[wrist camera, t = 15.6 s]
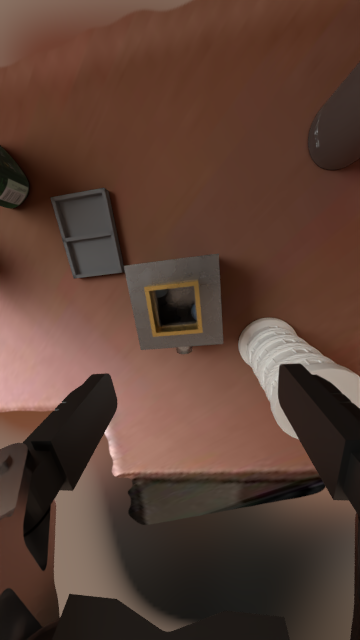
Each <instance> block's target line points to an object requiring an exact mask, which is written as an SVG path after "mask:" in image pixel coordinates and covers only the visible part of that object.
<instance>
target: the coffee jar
mask: <svg viewBox="0 0 360 640" xmlns="http://www.w3.org/2000/svg"><path fill="white" fill-rule="evenodd" d="M28 192H29V182H28V180H27V178H26V176H25V174H24V173H23V171H22V170H21V169H20V167H19V166H18V164H17V163H16V162H15V161H14V160H13V158H12V157H11V156H10V155H9V154H8V153H7V152H6V151H5V150H4V149H3V148H2V147H1V146H0V206H3V207H6V208H15V207H17V206H19V205H20V204H21V203H22V202H23V201H24V200H25V199H26V197H27V195H28Z"/></svg>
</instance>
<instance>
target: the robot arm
mask: <svg viewBox="0 0 360 640" xmlns="http://www.w3.org/2000/svg"><path fill="white" fill-rule="evenodd" d="M308 148H309V152H310V155H311V157H312V159H313V161H314V162H315V163H316V164H317V165H318V166H320V167H321V168H324V169H327V170H336V169H341V168H344V167H346V166H348V165H350V164H351V163H353V162H355V161H356V160H358V159H359V158H360V62H359V63H358V64H357V66H356V67H355V68H354V69H353V70H352V72H351V73H350V74H349V75H348V77H347V78H346V79H345V80H344V81H343V83H342V84H341V85H340V86H339V87H338V89H337V90H336V91H335V92H334V93H333V95H332V96H331V97H330V98H329V99H328V101H327V102H326V103H325V104H324V106H323V107H322V108H321V109H320V111H319V112H318V113H317V115H316V117H315V119H314V120H313V122H312V125H311V128H310V131H309V137H308ZM278 399H279V403H280V406H281V408H282V410H283V412H284V414H285V415H286V417H287V419H288V421H289V422H290V424H291V426H292V428H293V430H294V431H295V433H296V435H297V437H298V438H299V440H300V442H301V444H302V445H303V447H304V449H305V451H306V452H307V454H308V456H309V458H310V459H311V461H312V463H313V465H314V466H315V468H316V470H317V472H318V473H319V475H320V477H321V479H322V481H323V482H324V484H325V486H326V488H327V489H328V491H329V493H330V495H331V496H332V498H333V500H349V501H350V502H351V504H352V506H353V507H354V509H355V510H356V512H357V513H356V517H355V572H354V610H353V619H352V626H351V635H350V640H360V408H358V407H357V406H356V405H355V404H354V403H351V400H350V399H349V398H347V397H346V396H345V395H344V394H342V392H341V391H340V390H339V389H338V388H337V387H335V386H334V385H333V384H332V383H331V382H329V381H328V380H326V379H324V378H322V377H320V376H318V375H317V374H316V375H312V374H311V373H310V372H309V371H308V370H307V369H306V368H305V367H304V366H303V365H302V364H300V363H294V364H281V365H280V366H279V376H278ZM116 409H117V397H116V393H115V390H114V386H113V383H112V379H111V376H110V375H109V374H93V375H91V376H90V377H89V378H88V379H87V380H86V381H85V382H84V383H83V384H82V385H81V386H80V387H78V388H77V389H75V390H74V391H72V392H71V393H70V394H69V395H68V396H67V397H66V398H65V399H64V400H63V401H62V403H60V404H59V405H58V406H57V407H56V408H55V411H53V412H52V413H51V414H50V415H49V416H48V417H47V418H46V419H45V420H44V421H43V422H42V423H41V424H40V426H38V427H37V428H36V429H35V430H34V431H33V433H32V434H31V435H30V436H29V437H28V438H27V439H26V440H25V441H24V442H23V443H16V444H12V445H9V446H7V447H4V448H2V449H0V640H290V639H289V635H288V631H287V627H286V623H285V618H284V617H279V616H269V615H260V614H251V613H241V612H232V611H223V612H221V613H218V614H216V615H213V616H211V617H208V618H205V619H203V620H200V621H198V622H195V623H192V624H190V625H187V626H185V627H182V628H180V629H177V630H174V631H171V632H165V631H162V630H161V629H159V628H158V627H156V626H155V625H153V624H152V623H150V622H149V621H148V620H146V619H145V618H143V617H142V616H140V615H139V614H137V613H136V612H135V611H133V610H131V609H130V608H129V607H127V606H126V605H124V604H123V603H122V602H120V601H119V600H117V599H111V598H102V597H93V596H83V595H73V594H69V597H68V600H67V602H66V605H65V607H64V610H63V613H62V616H61V617H60V618H59V606H58V598H57V593H56V589H55V584H54V550H55V548H54V547H55V523H56V502H55V500H54V498H55V497H56V495H57V494H58V492H59V490H71V491H72V490H73V489H74V488H75V486H76V484H77V482H78V480H79V479H80V477H81V475H82V473H83V471H84V469H85V468H86V466H87V463H88V462H89V460H90V458H91V456H92V455H93V453H94V451H95V449H96V447H97V445H98V443H99V442H100V439H101V438H102V436H103V434H104V432H105V430H106V429H107V427H108V425H109V423H110V421H111V419H112V418H113V416H114V414H115V412H116Z"/></svg>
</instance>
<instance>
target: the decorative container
mask: <svg viewBox="0 0 360 640" xmlns="http://www.w3.org/2000/svg"><path fill="white" fill-rule="evenodd" d="M238 347H239V352H240V354H241V356H242V358H243V360H244V361H245V362H246V363H247V364H248V365H250V366H251V367H252V368H253V372H254V374H255V375H256V377H257V378H258V380H259V383H260V385H261V386H262V388H263V390H265V393H266V396H267V397H268V400H269V401H270V403H271V410H272V413H273V415H274V418H275V420H276V421H277V423H278V425H279V426H280V427H281V429H282V430H283V431H284V432H286V433H287V434H289V435H290V436H292V437H294V438H297V439H299V438H298V437H297V435H296V433H295V431H294V430H293V428H292V426H291V424H290V422H289V421H288V419H287V417H286V415H285V414H284V412H283V410H282V408H281V406H280V403H279V399H278V376H279V366H280V365H281V364H294V363H300V364H302V365H303V366H304V367H305V368H306V369H307V370H308V371H309V372H310V373H311V374H312V375H316V374H317V375H318V376H320V377H322V378H324V379H326V380H328V381H329V382H331V383H332V384H333V385H334V386H335V387H337V388H338V389H339V390H340V391H341V392H342V394H344V395H345V396H346V397H347V398H349V399H350V400H351V403H354V404H355V405H356V406H357V407H358V408H360V377H359V376H358V375H357V374H355V373H354V372H352V371H351V370H350V369H348V368H346V367H343V366H341V365H338V364H336V363H335V362H334V361H332V360H331V359H329V358H327V357H325V356H323V355H322V354H321V353H320V352H319V351H318V350H317V349H315V348H314V347H312V346H310V345H309V344H308V343H307V342H306V341H304V340H303V339H302V338H299V337H298V336H297V335H296V332H295V331H294V329H293V328H292V327H291V326H290V325H288V324H287V323H286V322H284V321H283V320H280V319H277V318H270V317H268V318H261V319H258V320H256V321H253V322H252V323H251V324H249V325H248V326H247V327H246V328H245V329H244V330H243V331H242V333H241V335H240V337H239V342H238Z"/></svg>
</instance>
